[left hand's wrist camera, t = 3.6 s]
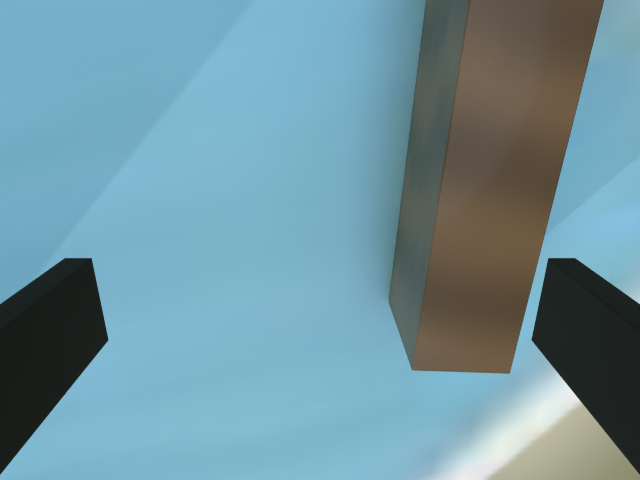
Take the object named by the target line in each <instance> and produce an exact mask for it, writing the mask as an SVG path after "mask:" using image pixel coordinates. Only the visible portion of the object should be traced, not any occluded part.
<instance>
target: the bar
mask: <svg viewBox="0 0 640 480" xmlns="http://www.w3.org/2000/svg"><path fill="white" fill-rule="evenodd" d="M603 2H604V0H426V7H425V15H424V23H423V31H422V39H421V47H420V55H419V63H418V71H417V79H416V87H415V95H414V103H413V111H412V119H411V127H410V135H409V143H408V151H407V159H406V167H405V175H404V183H403V191H402V199H401V207H400V215H399V223H398V231H397V239H396V247H395V256H394V264H393V272H392V280H391V288H390V296H389V304H390V307H391V310H392V313H393V316H394V319H395V322H396V325H397V328H398V330H399V333H400V336H401V339H402V342H403V345H404V348H405V351H406V354H407V357H408V360H409V362H410V365H411V368H412V370H418V371H447V372H477V373H506V374H509V373H510V370H511V366H512V362H513V358H514V354H515V350H516V346H517V342H518V338H519V334H520V330H521V326H522V323H523V319H524V315H525V311H526V307H527V303H528V299H529V295H530V291H531V287H532V283H533V279H534V275H535V271H536V267H537V263H538V259H539V255H540V251H541V247H542V243H543V240H544V236H545V232H546V228H547V224H548V220H549V216H550V212H551V208H552V204H553V200H554V196H555V192H556V188H557V184H558V180H559V176H560V172H561V168H562V164H563V160H564V157H565V153H566V149H567V145H568V141H569V137H570V133H571V129H572V125H573V121H574V117H575V113H576V109H577V105H578V101H579V97H580V93H581V89H582V85H583V81H584V78H585V74H586V70H587V66H588V62H589V58H590V54H591V50H592V46H593V42H594V38H595V34H596V30H597V26H598V22H599V18H600V14H601V10H602V6H603Z"/></svg>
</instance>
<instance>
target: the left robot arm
mask: <svg viewBox="0 0 640 480" xmlns="http://www.w3.org/2000/svg"><path fill="white" fill-rule="evenodd" d="M107 341H108V336H107V331H106V326H105V321H104V316H103V311H102V307H101V302H100V297H99V292H98V287H97V282H96V277H95V273H94V268H93V263H92V258H65V259H63V260H62V261H60V262H59V263H58V264H56V265H55V266H53V267H52V268H51V269H49V270H48V271H46V272H45V273H44V274H42V275H41V276H39V277H38V278H37V279H35V280H34V281H32V282H31V283H29V284H28V285H27V286H25V287H24V288H22V289H21V290H20V291H18V292H17V293H15V294H14V295H13V296H11V297H10V298H8V299H7V300H6V301H4V302H3V303H1V304H0V474H1V473H2V472H3V470H4V469H5V468H6V467H7V465H8V464H9V463H10V462H11V461H12V459H13V458H14V457H15V456H16V454H17V453H18V452H19V451H20V449H21V448H22V447H23V446H24V444H25V443H26V442H27V441H28V439H29V438H30V437H31V436H32V434H33V433H34V432H35V431H36V429H37V428H38V427H39V426H40V424H41V423H42V422H43V421H44V419H45V418H46V417H47V416H48V415H49V413H50V412H51V411H52V410H53V408H54V407H55V406H56V405H57V403H58V402H59V401H60V400H61V398H62V397H63V396H64V395H65V393H66V392H67V391H68V390H69V388H70V387H71V386H72V385H73V383H74V382H75V381H76V380H77V378H78V377H79V376H80V375H81V373H82V372H83V371H84V370H85V369H86V367H87V366H88V365H89V364H90V362H91V361H92V360H93V359H94V357H95V356H96V355H97V354H98V352H99V351H100V350H101V349H102V347H103V346H104V345H105V344H106V342H107ZM532 341H533V342H534V344H535V345H536V346H537V347H538V349H539V350H540V351H541V352H542V354H543V355H544V356H545V357H546V359H547V360H548V361H549V362H550V364H551V365H552V366H553V367H554V369H555V370H556V371H557V372H558V373H559V375H560V376H561V377H562V378H563V380H564V381H565V382H566V383H567V385H568V386H569V387H570V388H571V390H572V391H573V392H574V393H575V395H576V396H577V397H578V398H579V400H580V401H581V402H582V403H583V405H584V406H585V407H586V408H587V409H588V411H589V412H590V413H591V414H592V416H593V417H594V418H595V419H596V421H597V422H598V423H599V424H600V426H601V427H602V428H603V429H604V431H605V432H606V433H607V434H608V436H609V437H610V438H611V439H612V441H613V442H614V443H615V444H616V446H617V447H618V448H619V449H620V451H621V452H622V453H623V454H624V455H625V457H626V458H627V459H628V461H629V462H630V463H631V464H632V465H633V467H634V468H635V469H636V470H637V472H638V473H639V474H640V304H639V303H637V302H636V301H634V300H633V299H632V298H630V297H629V296H627V295H626V294H625V293H623V292H622V291H620V290H619V289H618V288H616V287H615V286H613V285H612V284H611V283H609V282H608V281H606V280H605V279H603V278H602V277H601V276H599V275H598V274H596V273H595V272H594V271H592V270H591V269H589V268H588V267H587V266H585V265H584V264H582V263H581V262H580V261H578V260H577V259H575V258H548V263H547V268H546V273H545V277H544V282H543V287H542V292H541V297H540V302H539V307H538V311H537V316H536V321H535V326H534V331H533V336H532Z"/></svg>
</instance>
